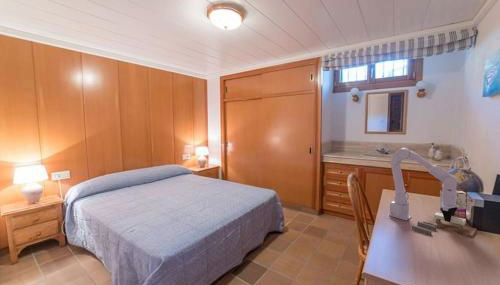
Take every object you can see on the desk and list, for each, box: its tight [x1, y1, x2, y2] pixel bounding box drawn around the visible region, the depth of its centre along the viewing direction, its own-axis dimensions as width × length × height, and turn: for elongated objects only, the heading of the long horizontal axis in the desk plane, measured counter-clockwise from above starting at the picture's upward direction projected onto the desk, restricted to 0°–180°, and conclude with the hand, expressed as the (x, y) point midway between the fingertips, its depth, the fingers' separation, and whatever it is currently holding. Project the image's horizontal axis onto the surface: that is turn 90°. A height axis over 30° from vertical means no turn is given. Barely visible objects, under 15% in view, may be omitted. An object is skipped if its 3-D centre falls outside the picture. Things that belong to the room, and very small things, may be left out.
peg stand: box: [422, 216, 478, 238], centre depth 116 cm, size 20×11×3 cm, turn 34°
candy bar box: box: [439, 189, 468, 219], centre depth 127 cm, size 11×5×16 cm, turn 68°
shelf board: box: [433, 211, 467, 225], centre depth 116 cm, size 12×5×2 cm, turn 35°
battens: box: [411, 221, 437, 236], centre depth 114 cm, size 8×10×2 cm
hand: (448, 220), depth 116 cm, fingers closed on shelf board, 5 cm apart
